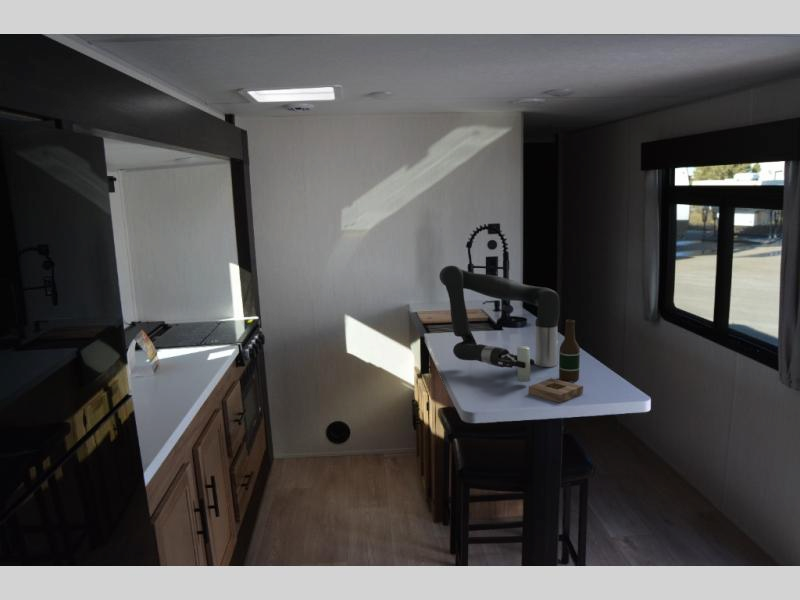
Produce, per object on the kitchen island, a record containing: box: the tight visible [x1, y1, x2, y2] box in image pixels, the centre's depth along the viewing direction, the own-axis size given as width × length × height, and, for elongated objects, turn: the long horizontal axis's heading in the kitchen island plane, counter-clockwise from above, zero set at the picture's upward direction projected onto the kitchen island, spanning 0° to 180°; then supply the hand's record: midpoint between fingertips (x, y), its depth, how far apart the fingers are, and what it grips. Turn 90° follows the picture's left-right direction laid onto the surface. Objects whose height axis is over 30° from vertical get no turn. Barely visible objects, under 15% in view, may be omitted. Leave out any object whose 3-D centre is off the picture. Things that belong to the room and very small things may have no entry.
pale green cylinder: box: [516, 345, 531, 383], centre depth 236 cm, size 5×5×13 cm
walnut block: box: [528, 377, 584, 404], centre depth 226 cm, size 14×14×3 cm
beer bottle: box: [558, 319, 581, 382], centre depth 242 cm, size 8×8×24 cm
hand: (529, 363), depth 234 cm, fingers closed on pale green cylinder, 4 cm apart
